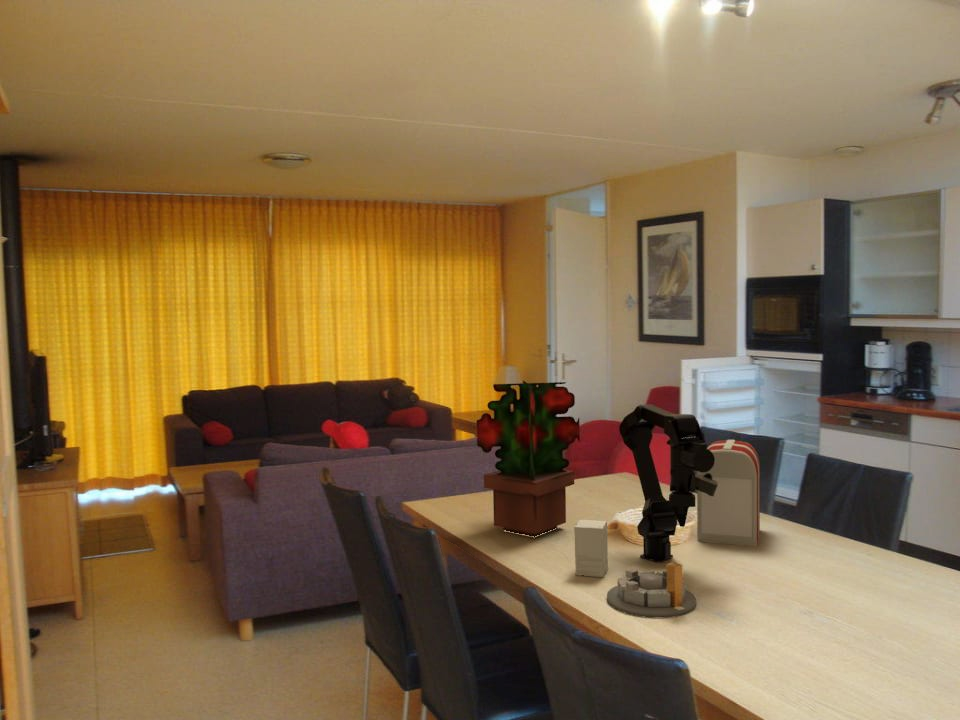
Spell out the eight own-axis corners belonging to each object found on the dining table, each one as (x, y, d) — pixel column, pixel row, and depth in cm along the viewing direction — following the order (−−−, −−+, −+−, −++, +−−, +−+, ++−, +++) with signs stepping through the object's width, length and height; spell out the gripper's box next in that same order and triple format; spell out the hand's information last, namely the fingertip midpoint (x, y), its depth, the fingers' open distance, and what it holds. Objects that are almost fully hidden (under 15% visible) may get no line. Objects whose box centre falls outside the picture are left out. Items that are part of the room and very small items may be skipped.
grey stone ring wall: (613, 585, 190) (613, 548, 189) (673, 583, 190) (673, 546, 190) (627, 608, 175) (626, 568, 175) (692, 606, 176) (691, 566, 175)
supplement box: (608, 568, 206) (608, 520, 205) (603, 578, 199) (603, 528, 198) (580, 566, 209) (579, 518, 208) (574, 575, 202) (573, 526, 201)
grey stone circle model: (589, 601, 184) (588, 577, 183) (641, 579, 197) (641, 558, 197) (662, 625, 169) (662, 599, 169) (713, 600, 183) (713, 576, 182)
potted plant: (580, 528, 245) (578, 381, 242) (538, 545, 228) (535, 388, 225) (523, 517, 259) (520, 378, 256) (479, 532, 242) (475, 384, 239)
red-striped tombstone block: (696, 541, 229) (695, 447, 227) (703, 525, 245) (703, 437, 243) (757, 546, 223) (757, 450, 221) (760, 529, 239) (760, 440, 237)
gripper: (717, 473, 189) (717, 538, 190) (714, 458, 207) (714, 518, 208) (668, 472, 191) (669, 536, 192) (669, 457, 210) (670, 516, 211)
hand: (682, 526), depth 201 cm, fingers closed
